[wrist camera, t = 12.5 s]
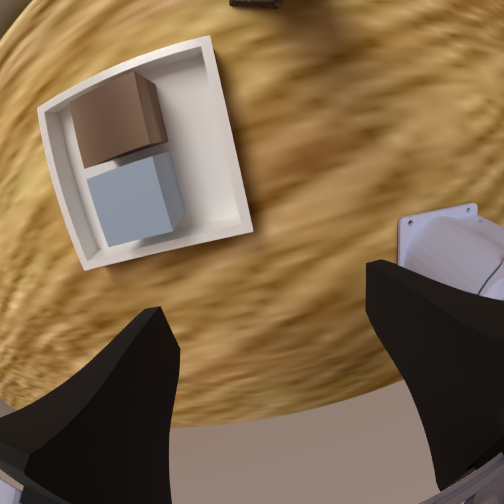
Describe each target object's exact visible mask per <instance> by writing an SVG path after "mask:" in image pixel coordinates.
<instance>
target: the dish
mask: <svg viewBox="0 0 504 504" xmlns="http://www.w3.org/2000/svg"><path fill="white" fill-rule="evenodd" d="M131 72H136V73H138V74H139V75H141V76H143V77H144V78H146V79H148V80H150V81H151V82H153V83H155V85H156V90H157V94H158V99H159V103H160V108H161V112H162V116H163V120H164V125H165V129H166V133H167V137H168V142H165V143H162V144H158V145H155V146H152V147H149V148H146V149H143V150H141V151H138V152H135V153H132V154H129V155H127V156H124V157H121V158H119V159H116V160H113V161H110V162H106V163H103V164H99V165H96V166H92V167H89V168H86V169H84V166H83V162H82V159H81V155H80V151H79V147H78V142H77V138H76V134H75V129H74V124H73V120H72V114H71V109H70V103H69V102H70V101H72V100H74V99H76V98H77V97H79V96H81V95H83V94H85V93H87V92H89V91H91V90H93V89H95V88H97V87H99V86H101V85H103V84H106V83H108V82H110V81H112V80H114V79H117V78H119V77H121V76H124V75H126V74H129V73H131ZM37 111H38V118H39V124H40V130H41V135H42V140H43V145H44V150H45V154H46V158H47V163H48V167H49V171H50V174H51V178H52V182H53V185H54V189H55V192H56V196H57V199H58V202H59V205H60V208H61V211H62V214H63V217H64V220H65V223H66V226H67V229H68V231H69V234H70V237H71V239H72V242H73V244H74V247H75V250H76V252H77V254H78V257H79V259H80V262H81V264H82V266H83V269H84V271H85V270H89V269H93V268H97V267H101V266H105V265H109V264H113V263H118V262H122V261H126V260H130V259H134V258H139V257H143V256H147V255H151V254H156V253H160V252H164V251H169V250H173V249H177V248H182V247H186V246H191V245H195V244H199V243H204V242H208V241H213V240H217V239H222V238H227V237H231V236H236V235H240V234H245V233H250V232H253V226H252V221H251V216H250V212H249V207H248V203H247V198H246V193H245V189H244V184H243V180H242V175H241V171H240V166H239V162H238V157H237V152H236V148H235V143H234V139H233V134H232V130H231V125H230V121H229V117H228V112H227V108H226V103H225V99H224V94H223V90H222V85H221V81H220V77H219V72H218V68H217V63H216V59H215V55H214V50H213V46H212V42H211V38H210V35H209V36H204V37H200V38H196V39H192V40H188V41H185V42H181V43H177V44H174V45H171V46H167V47H164V48H161V49H158V50H155V51H152V52H149V53H146V54H144V55H141V56H138V57H136V58H133V59H131V60H128V61H126V62H123V63H121V64H118V65H116V66H114V67H111V68H109V69H107V70H105V71H103V72H100V73H98V74H96V75H94V76H92V77H90V78H88V79H86V80H84V81H82V82H80V83H78V84H77V85H75V86H73V87H71V88H69V89H67V90H66V91H64V92H62V93H60V94H59V95H57V96H55V97H54V98H52V99H50V100H49V101H47V102H46V103H44V104H42V105H41V106H39V107H38V108H37ZM169 151H170V152H171V156H172V160H173V164H174V168H175V172H176V176H177V180H178V184H179V188H180V192H181V196H182V199H183V203H184V207H185V210H186V211H185V212H184V214H183V216H182V217H181V219H180V221H179V222H178V224H177V226H176V227H175V229H174V231H172V232H168V233H164V234H160V235H156V236H152V237H148V238H144V239H140V240H136V241H132V242H128V243H124V244H120V245H116V246H112V247H108V244H107V242H106V239H105V236H104V233H103V231H102V228H101V225H100V222H99V219H98V216H97V213H96V210H95V207H94V204H93V200H92V197H91V194H90V190H89V187H88V183H87V180H86V179H89V178H91V177H94V176H97V175H99V174H102V173H105V172H107V171H110V170H113V169H115V168H118V167H121V166H124V165H127V164H130V163H133V162H136V161H139V160H142V159H145V158H148V157H151V156H155V155H158V154H162V153H166V152H169Z"/></svg>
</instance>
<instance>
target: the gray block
mask: <svg viewBox="0 0 504 504" xmlns="http://www.w3.org/2000/svg"><path fill="white" fill-rule="evenodd" d="M86 180H87V183H88V187H89V190H90V194H91V197H92V200H93V204H94V207H95V210H96V213H97V216H98V219H99V222H100V225H101V228H102V231H103V233H104V236H105V239H106V242H107V244H108V247H112V246H116V245H120V244H124V243H128V242H132V241H136V240H140V239H144V238H148V237H152V236H156V235H160V234H164V233H168V232H172V231H174V229H175V227H176V226H177V224H178V222H179V221H180V219H181V217H182V216H183V214H184V212H185V211H186V210H185V207H184V203H183V199H182V196H181V192H180V188H179V184H178V180H177V176H176V172H175V168H174V164H173V160H172V156H171V152H170V151H169V152H166V153H162V154H158V155H155V156H151V157H148V158H145V159H142V160H139V161H136V162H133V163H130V164H127V165H124V166H121V167H118V168H115V169H113V170H110V171H107V172H105V173H102V174H99V175H97V176H94V177H91V178H89V179H86Z"/></svg>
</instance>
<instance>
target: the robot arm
mask: <svg viewBox="0 0 504 504" xmlns="http://www.w3.org/2000/svg"><path fill="white" fill-rule="evenodd" d="M477 209H478V208H477V204H475V203H468V204H463V205H459V206H454V207H449V208H444V209H439V210H434V211H429V212H424V213H420V214H415V215H410V216H405V217H402V218H401V219H400V220H399V222H398V263H397V264H394V263H391V262H389V261H386V260H382V259H381V260H377V261H373V262H369V263H366V310H365V311H366V313H367V315H368V317H369V320H370V322H371V324H372V326H373V328H374V330H375V332H376V334H377V336H378V337H379V339H380V341H381V342H382V344H383V345H384V347H385V349H386V350H387V352H388V354H389V355H390V357H391V358H392V360H393V362H394V363H395V365H396V366H397V368H398V370H399V371H400V373H401V375H402V376H403V378H404V380H405V382H406V384H407V386H408V388H409V390H410V393H411V395H412V397H413V400H414V402H415V405H416V407H417V410H418V413H419V415H420V418H421V421H422V424H423V427H424V430H425V433H426V437H427V440H428V443H429V447H430V451H431V456H432V460H433V465H434V470H435V476H436V483H437V485H438V488H439V490H440V491H443V490H444V491H443V492H441V493H439V494H437V495H435V496H433V497H431V498H430V499H428V500H426V501H424V502H422V503H419V504H460V503H462V502H464V501H465V500H466V501H465V502H464V504H504V228H502V227H500V226H499V225H497V224H495V223H493V222H491V221H489V220H487V219H485V218H483V217H481V216H479V215H477ZM466 210H467V211H466ZM410 220H411V222H410V224H409V225H408V222H409V221H410ZM179 369H180V347H179V345H178V343H177V341H176V339H175V337H174V335H173V333H172V331H171V328H170V326H169V324H168V322H167V320H166V318H165V315H164V313H163V311H162V309H161V306H159V307H153V308H147V309H144V310H143V311H142V312H141V313H140V314H138V315H137V316H136V317H135V318H134V319H133V320H132V321H131V322H130V323H129V324H128V325H127V326H126V327H125V328H124V329H123V330H122V331H121V332H120V333H119V334H118V335H117V336H116V337H115V338H114V339H113V340H112V341H111V342H110V343H109V344H108V345H107V346H106V347H105V348H104V349H103V350H102V351H101V352H99V353H98V354H97V355H96V356H95V357H94V358H93V359H92V360H91V361H90V362H89V363H88V364H87V365H86V366H84V367H83V368H82V369H81V370H80V371H78V372H77V373H76V374H75V375H73V376H72V377H71V378H70V379H68V380H67V381H66V382H64V383H63V384H61V385H60V386H59V387H57V388H56V389H54V390H53V391H51V392H50V393H48V394H47V395H45V396H44V397H42V398H40V399H39V400H37V401H35V402H33V403H31V404H30V405H28V406H26V407H24V408H22V409H20V410H18V411H16V412H13V413H11V414H9V415H6V416H3V417H1V418H0V469H1V470H2V471H4V472H5V473H6V474H8V475H9V476H10V477H12V478H13V479H14V480H16V481H17V482H19V483H20V484H22V485H23V486H24V488H23V491H21V490H19V489H17V488H16V487H14V486H13V485H11V484H9V483H8V482H6V481H4V480H3V479H1V478H0V504H172V500H171V491H170V480H169V479H170V478H169V432H170V424H171V418H172V412H173V406H174V400H175V395H176V389H177V383H178V378H179ZM475 470H476V471H475ZM474 471H475V472H474ZM472 472H473V473H472ZM471 473H472V474H471ZM469 474H470V475H469ZM468 475H469V476H468ZM466 476H467V477H466ZM465 477H466V478H465ZM463 478H464V479H463ZM461 479H463V480H461ZM460 480H461V481H460ZM458 481H460V482H458ZM456 482H458V483H456ZM455 483H456V484H455ZM453 484H455V485H453ZM452 485H453V486H452ZM450 486H451V487H450ZM448 487H450V488H448ZM447 488H448V489H447ZM445 489H446V490H445Z"/></svg>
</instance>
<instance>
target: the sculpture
mask: <svg viewBox="0 0 504 504" xmlns="http://www.w3.org/2000/svg"><path fill="white" fill-rule="evenodd" d="M282 1H283V0H229V4H230V6H245V7H264V8H275V9H278V8H280V5H281V2H282Z"/></svg>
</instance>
